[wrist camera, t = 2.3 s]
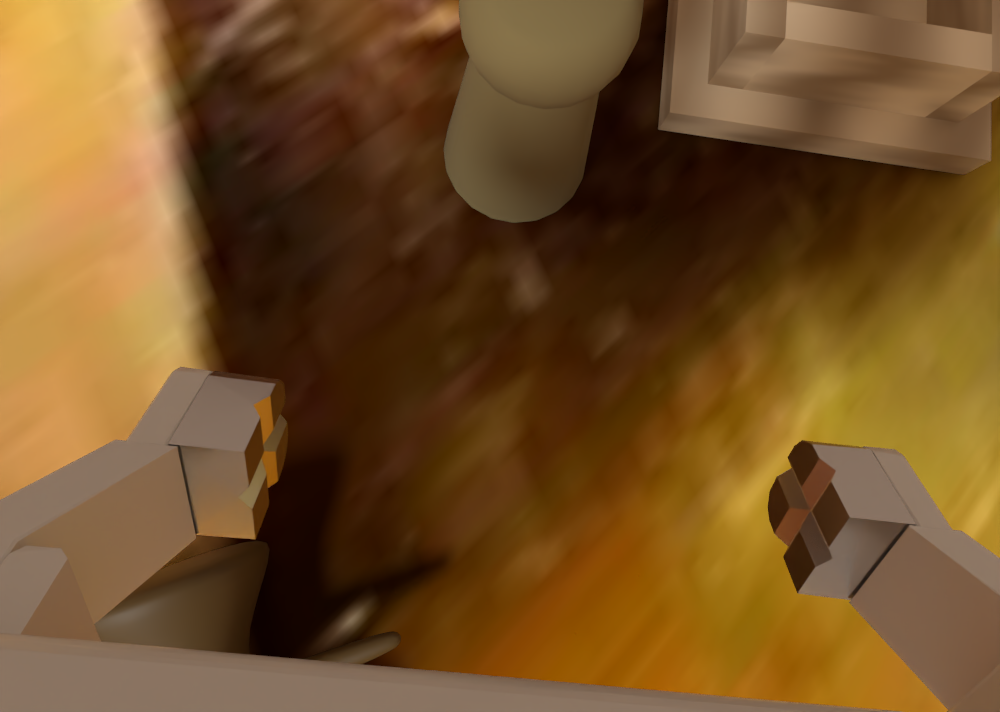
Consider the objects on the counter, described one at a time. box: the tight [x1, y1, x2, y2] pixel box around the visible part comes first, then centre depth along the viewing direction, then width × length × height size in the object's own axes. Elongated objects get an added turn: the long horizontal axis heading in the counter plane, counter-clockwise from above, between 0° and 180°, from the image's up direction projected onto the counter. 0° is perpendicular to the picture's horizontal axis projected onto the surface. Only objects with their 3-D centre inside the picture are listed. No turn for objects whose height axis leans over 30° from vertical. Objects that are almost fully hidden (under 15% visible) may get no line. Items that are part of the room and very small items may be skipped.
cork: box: [444, 0, 644, 223], centre depth 23 cm, size 6×6×11 cm
